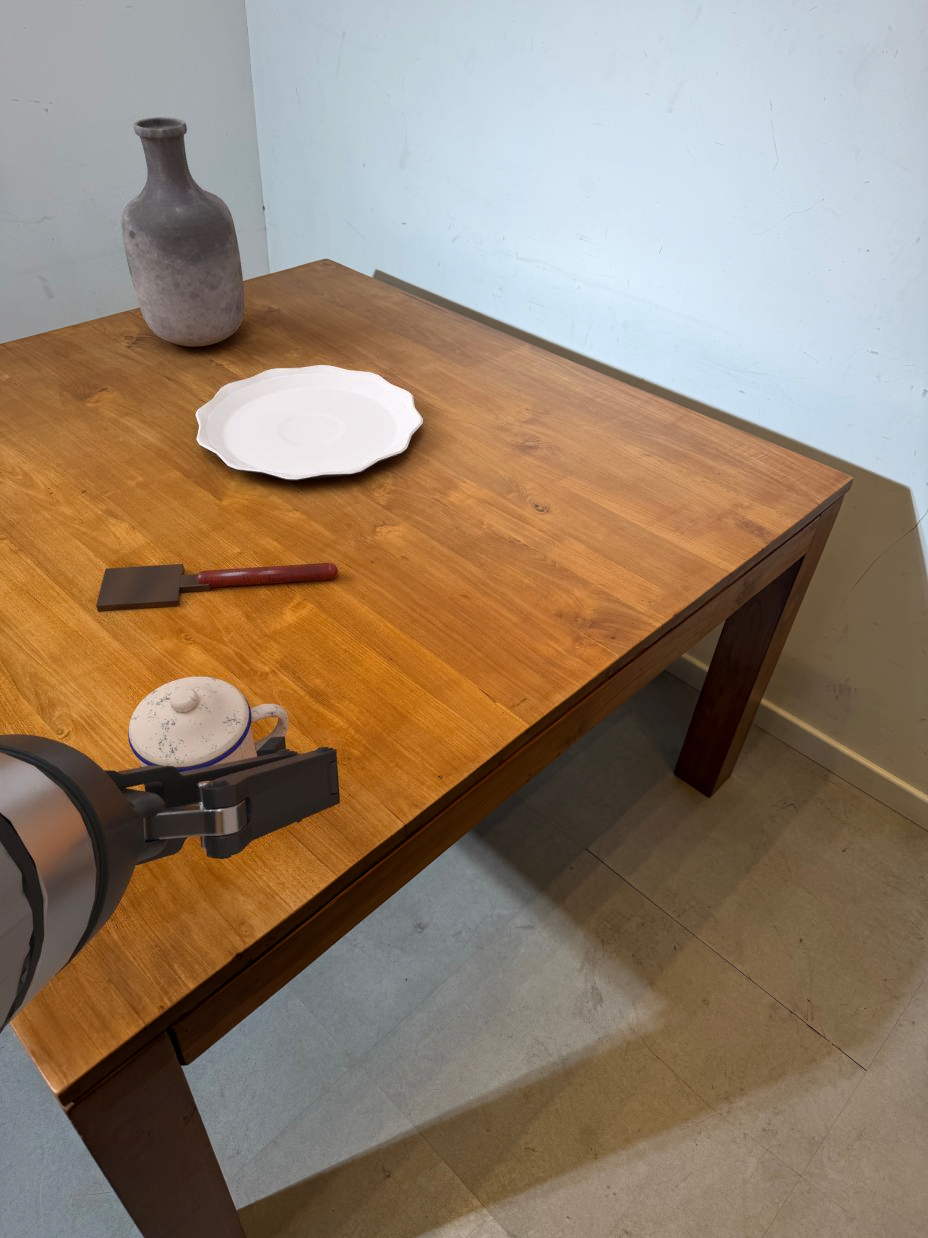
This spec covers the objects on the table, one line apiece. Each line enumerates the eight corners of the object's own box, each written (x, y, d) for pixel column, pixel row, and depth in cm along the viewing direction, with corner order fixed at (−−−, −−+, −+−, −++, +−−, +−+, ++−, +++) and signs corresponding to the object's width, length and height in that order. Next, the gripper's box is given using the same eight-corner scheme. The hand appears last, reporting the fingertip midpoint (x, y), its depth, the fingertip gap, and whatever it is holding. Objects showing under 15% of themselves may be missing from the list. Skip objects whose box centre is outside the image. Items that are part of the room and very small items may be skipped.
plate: (465, 437, 113) (465, 421, 111) (285, 522, 97) (283, 505, 95) (330, 361, 128) (329, 346, 126) (156, 425, 112) (152, 408, 110)
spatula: (97, 611, 85) (93, 598, 83) (107, 574, 89) (103, 560, 88) (339, 595, 88) (338, 582, 87) (337, 559, 92) (336, 546, 91)
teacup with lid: (168, 854, 65) (134, 761, 57) (140, 770, 71) (105, 675, 63) (313, 795, 69) (300, 701, 62) (275, 720, 75) (259, 626, 67)
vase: (193, 310, 139) (154, 103, 119) (271, 331, 134) (245, 119, 114) (123, 345, 129) (68, 125, 108) (206, 370, 124) (165, 144, 103)
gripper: (-546, 1081, 21) (-100, 870, 43) (417, 960, 25) (389, 820, 46) (-556, 788, 22) (-108, 723, 43) (398, 707, 25) (379, 684, 46)
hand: (149, 773), depth 44 cm, fingers open, 13 cm apart
